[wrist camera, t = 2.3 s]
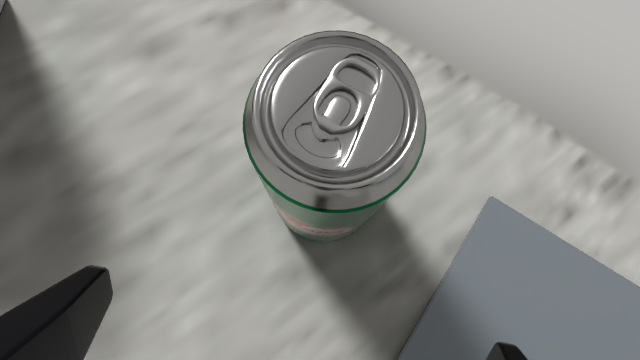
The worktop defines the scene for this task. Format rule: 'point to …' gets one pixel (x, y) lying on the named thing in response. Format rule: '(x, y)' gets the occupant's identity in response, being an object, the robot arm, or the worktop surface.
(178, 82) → the worktop surface
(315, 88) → the soda can
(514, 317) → the slate mat
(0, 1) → the coffee box
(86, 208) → the worktop surface
